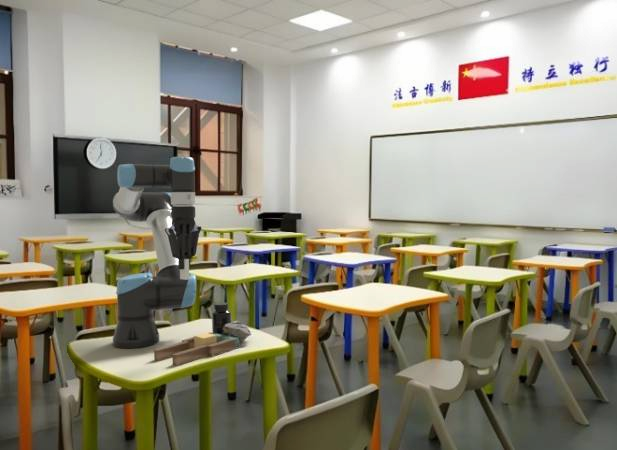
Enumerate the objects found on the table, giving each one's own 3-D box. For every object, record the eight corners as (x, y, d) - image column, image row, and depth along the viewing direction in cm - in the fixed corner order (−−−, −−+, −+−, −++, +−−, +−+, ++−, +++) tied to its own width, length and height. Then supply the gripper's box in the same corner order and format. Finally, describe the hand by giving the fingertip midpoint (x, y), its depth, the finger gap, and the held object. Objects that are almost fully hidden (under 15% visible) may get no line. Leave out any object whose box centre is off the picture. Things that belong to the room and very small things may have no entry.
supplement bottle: (219, 334, 182) (218, 301, 182) (235, 335, 180) (234, 302, 179) (208, 338, 176) (207, 304, 176) (225, 340, 173) (224, 305, 173)
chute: (150, 358, 154) (150, 349, 153) (209, 341, 173) (209, 332, 173) (181, 366, 145) (180, 356, 145) (239, 347, 165) (239, 338, 165)
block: (194, 351, 161) (194, 335, 161) (207, 347, 165) (207, 332, 165) (203, 354, 158) (203, 338, 158) (216, 350, 162) (216, 335, 161)
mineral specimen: (238, 354, 174) (225, 353, 165) (225, 336, 178) (211, 335, 168) (258, 334, 174) (246, 333, 165) (244, 317, 177) (231, 315, 168)
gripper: (173, 206, 153) (175, 283, 155) (206, 205, 164) (208, 277, 165) (158, 206, 158) (160, 280, 159) (191, 205, 168) (193, 275, 170)
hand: (184, 278), depth 162 cm, fingers closed
